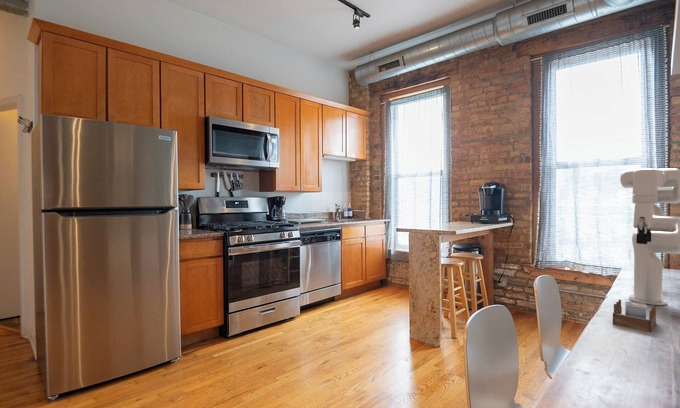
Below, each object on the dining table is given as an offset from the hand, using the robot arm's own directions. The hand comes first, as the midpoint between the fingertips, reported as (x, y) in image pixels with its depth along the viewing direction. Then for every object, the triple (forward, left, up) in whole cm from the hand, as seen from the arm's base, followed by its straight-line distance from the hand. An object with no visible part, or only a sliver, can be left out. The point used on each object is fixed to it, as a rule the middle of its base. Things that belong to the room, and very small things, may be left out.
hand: (643, 242), depth 141 cm
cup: (+16, 0, -28) cm, 32 cm away
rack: (+18, 0, -28) cm, 34 cm away
